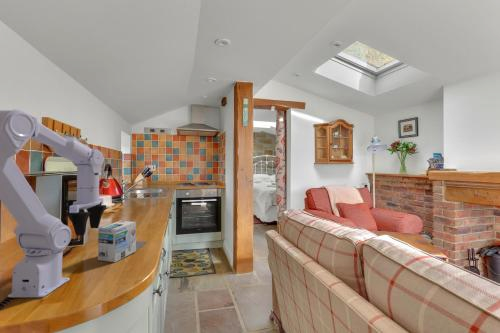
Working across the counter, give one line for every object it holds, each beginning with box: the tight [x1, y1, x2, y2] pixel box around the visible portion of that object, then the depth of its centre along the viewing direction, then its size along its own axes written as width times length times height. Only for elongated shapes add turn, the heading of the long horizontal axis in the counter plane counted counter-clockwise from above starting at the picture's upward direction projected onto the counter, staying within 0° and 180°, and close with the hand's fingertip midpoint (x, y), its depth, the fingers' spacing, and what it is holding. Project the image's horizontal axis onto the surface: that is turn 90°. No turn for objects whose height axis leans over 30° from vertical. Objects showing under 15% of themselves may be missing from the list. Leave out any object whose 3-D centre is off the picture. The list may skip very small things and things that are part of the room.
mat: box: [134, 241, 147, 253], centre depth 95 cm, size 12×9×1 cm
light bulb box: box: [97, 219, 137, 263], centre depth 85 cm, size 11×7×11 cm, turn 168°
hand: (87, 231), depth 77 cm, fingers open, 7 cm apart
